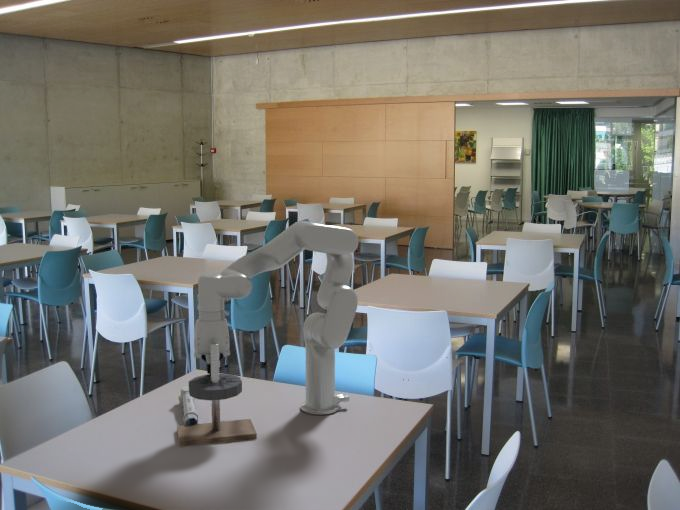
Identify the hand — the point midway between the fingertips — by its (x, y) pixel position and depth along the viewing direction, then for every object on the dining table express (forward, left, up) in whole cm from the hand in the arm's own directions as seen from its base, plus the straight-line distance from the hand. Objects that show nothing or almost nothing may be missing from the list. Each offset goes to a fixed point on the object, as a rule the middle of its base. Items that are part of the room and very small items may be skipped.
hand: (212, 375), depth 211 cm
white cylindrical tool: (+6, -13, -17) cm, 22 cm away
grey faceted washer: (0, +6, -3) cm, 7 cm away
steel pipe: (0, +6, -15) cm, 16 cm away
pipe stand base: (0, +6, -16) cm, 17 cm away
